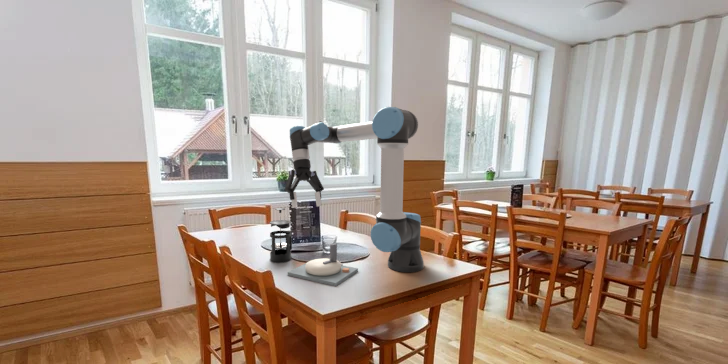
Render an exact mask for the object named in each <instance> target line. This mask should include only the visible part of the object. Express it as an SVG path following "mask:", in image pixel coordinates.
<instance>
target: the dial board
mask: <svg viewBox="0 0 728 364" xmlns="http://www.w3.org/2000/svg"><path fill="white" fill-rule="evenodd" d="M306 263H307V262H306ZM306 263H304V264H301V265H299V266H298V267H295V268H293V269H291V270H289V271H287V276H290V277H294V278H298V279H303V280H306V281H312V282H314V283H320V284H325V285H328V286H334V287H337V286H338V285H340V284H341V283H343V282H344V281H346V280H347V279H349V278H350V277H352V276H353V275H355V274H356V273H358V271H359V268H357V267H352V266H346V265H344V264H343V263H341V270H340V271H339V272H338V273H336V274H332V275H326V276H318V275H312V274H309V273H307V272H306Z"/></svg>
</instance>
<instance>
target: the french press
mask: <svg viewBox="0 0 728 364" xmlns="http://www.w3.org/2000/svg"><path fill="white" fill-rule="evenodd" d="M275 210H276V211H278V212H279V219H278V220H272V221H270V222H269V224H270V227H271V228H272V227H275V226H276V227H277V228H278V229H279V230H274V231H271V232H269V238H271V245H270V247H271V251H270V252H269V254H270V255H269V256H270V258H269V261H270V262H271V263H277V264H279V263H288V262H289V261H292V250H293V246H292V245H293V242H292V241H293V238H292V237H293V232H292V230H286V229H288V228H290V227H291V222H292V221H291V220H287V219H282V215H281V214H282V211H285V210H286V208H284V207H277V208H275ZM283 229H285V230H283ZM278 234H279V235H278ZM276 239H279V242H276ZM282 239H285V242H282Z"/></svg>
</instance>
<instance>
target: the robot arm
mask: <svg viewBox="0 0 728 364" xmlns="http://www.w3.org/2000/svg"><path fill="white" fill-rule="evenodd" d="M418 128H419V121H418V118H417V116H416V115H415V114H414V113H413V112H411V111H410V110H405V109H401V108H399V107H396V106H385V107H383V108H381V109H379V110H378V111H377V112H376V113H375V115H374V116H373V118H372V121H367V122H359V123H358V122H357V123H350V124H344V125H343V124H342V125H336V126H335V125H334V126H328V125H327V124H326V123H325V122H323V121H321V122H316V123H313V124H311V125H310V126H307V127H305V126H303V125H296V126H292V127H290V129H289V139H290V147H291V156H292V161H293V163H292V164H293V169H290V170H289V171H288V177H287V181H286V184H285V188H284V191H285V192H287V194H288V195H289V199H290V201H291V206H292V207H291V208H293V209H295V208H298V207H299V206H298V200H297V197H298V196H297V191H296V189H297V186H298V185H299V183H300V181H301V182H302V181H303V182H307V183H308V184H309V185H310V186H311V187H312V189H313V190H314V191H315V192H314V197H315V205H316V206H315V207H321V206H323V205H322V192H323V191H324V189H325V188H324V186H323V184H322V182H321V180H320V178H319V177H318V174H317V170H312V171H311V160H310V150H309V145H313V144H315V143H324V144H325V143H329V144H341V143H344V142H357V141H367V140H375V139H376V140H377V141H376V143H377V144H376V145H377V146H378V147H380V150H381V151H380V198H379V199H380V203H379V205H380V206H379V209H380V210H379V212H378V213H376V215H375V217H376V219H375V224H374V225H373V226H372V228H371V230H370V239H371V243H372V244H373V246H375V247H376V249H377V250H378V251H381V252H383V253H389V256H388V259H387V267H388V268H389V269H390V270H393V271H396V272H402V273H416V272H419V271H422V270H423V269H424V264H425V263H424V259H423V256H422V251H421V228H422V227H421V226H422V220H421V219H422V218H421V215H420V214H418V213H415V212H405V211H403V209H404V208H403V207H404V202H403V201H404V169H405V167H404V165H405V164H404V163H405V162H404V161H405V148H406V147H407V146H408V145H409V139H411V138H412V137H414V136H415V135H416V133H417V132H418Z"/></svg>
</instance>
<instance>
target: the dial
mask: <svg viewBox="0 0 728 364" xmlns="http://www.w3.org/2000/svg"><path fill="white" fill-rule="evenodd" d="M337 254H338V244H337V243H329V258H328V257H327V258H323V257H322V258H315V259H311V260H309V261H307V262H306V272H307V273H309V274H312V275H318V276H326V275H332V274H336V273H338V272H339V271H340V270H341V261H339V260H338V257H337V256H338V255H337Z"/></svg>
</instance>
